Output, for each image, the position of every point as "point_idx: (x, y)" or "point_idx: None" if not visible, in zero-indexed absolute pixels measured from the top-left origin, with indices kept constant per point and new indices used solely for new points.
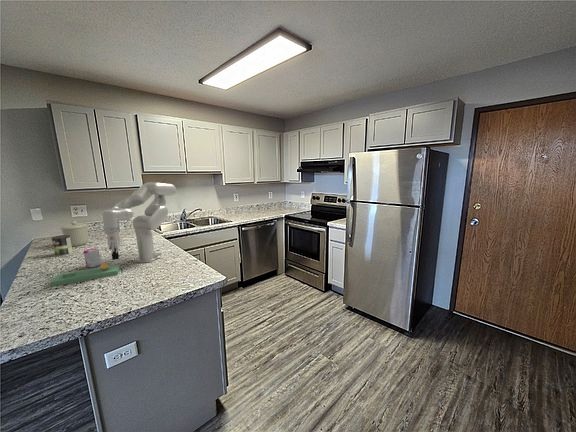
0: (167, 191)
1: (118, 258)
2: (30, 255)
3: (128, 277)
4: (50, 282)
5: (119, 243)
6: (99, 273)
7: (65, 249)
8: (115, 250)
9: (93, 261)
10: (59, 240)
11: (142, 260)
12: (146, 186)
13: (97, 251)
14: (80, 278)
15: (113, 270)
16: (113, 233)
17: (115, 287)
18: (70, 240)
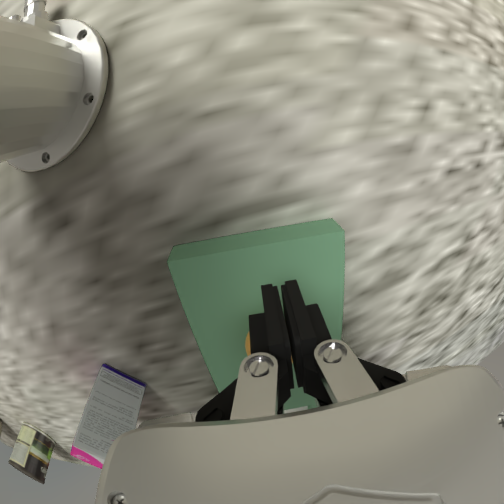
0: None
1: (296, 282)
2: (62, 460)
3: (419, 133)
4: None
5: (349, 500)
6: (337, 326)
7: (37, 445)
8: (402, 382)
9: (130, 407)
10: (38, 474)
11: (78, 103)
12: None
13: (87, 438)
14: None
15: (325, 260)
16: None
17: (491, 184)
18: (14, 452)
